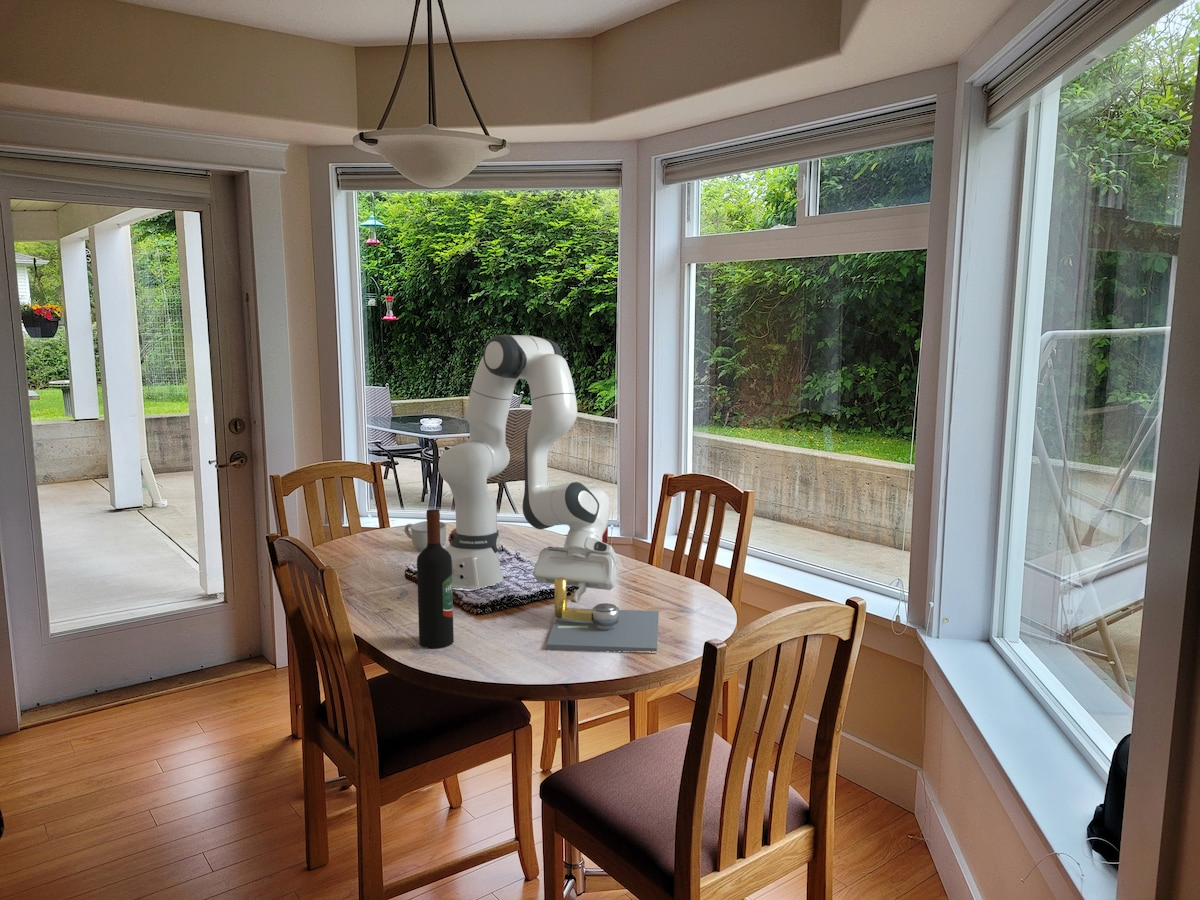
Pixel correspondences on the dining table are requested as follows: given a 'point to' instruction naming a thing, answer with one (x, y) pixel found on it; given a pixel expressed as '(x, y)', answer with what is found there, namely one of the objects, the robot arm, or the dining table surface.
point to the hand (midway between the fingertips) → (566, 600)
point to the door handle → (599, 615)
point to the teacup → (423, 534)
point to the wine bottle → (435, 589)
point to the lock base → (607, 633)
